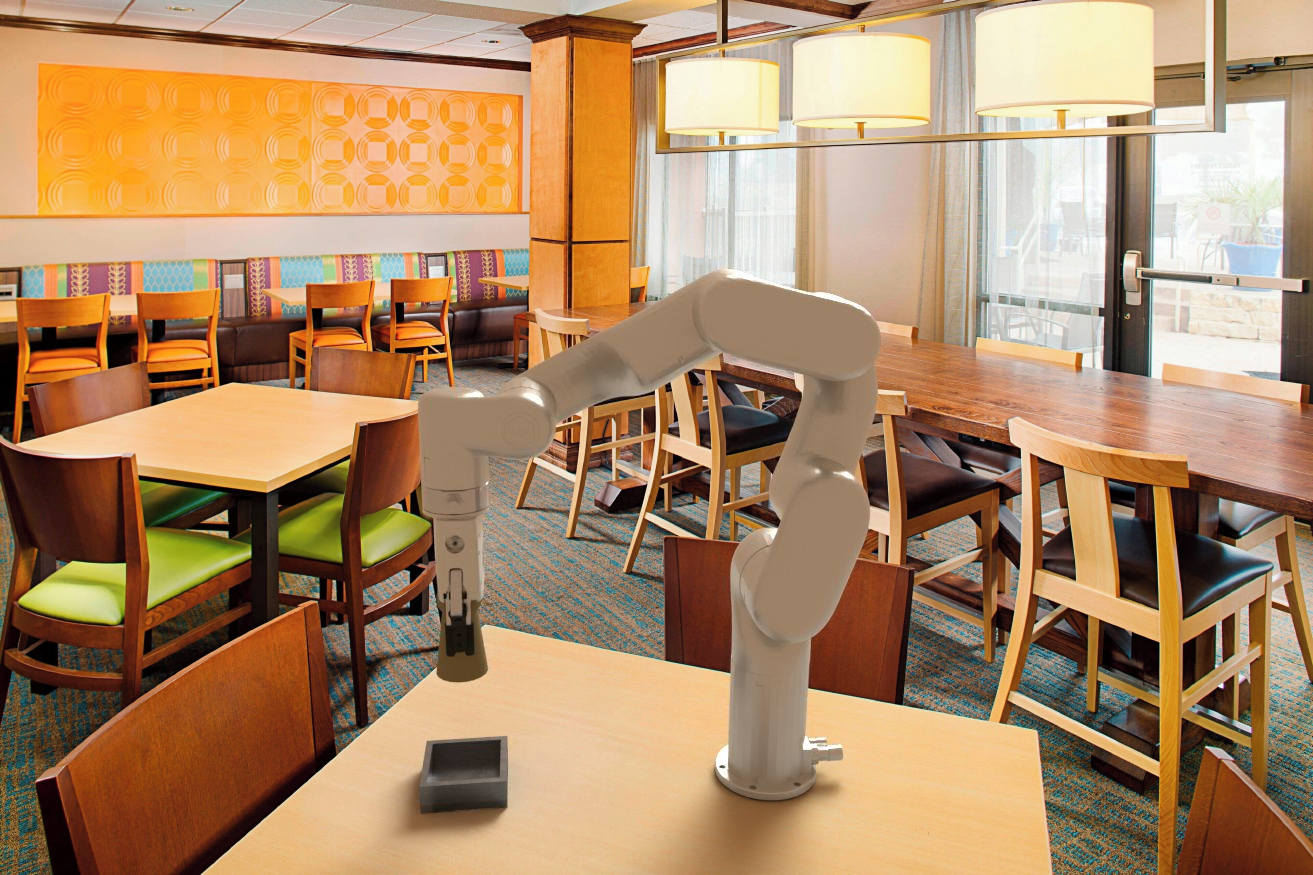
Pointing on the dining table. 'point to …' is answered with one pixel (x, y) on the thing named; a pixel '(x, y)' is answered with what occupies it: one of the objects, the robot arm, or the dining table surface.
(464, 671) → the cork
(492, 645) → the dining table surface
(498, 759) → the socket
